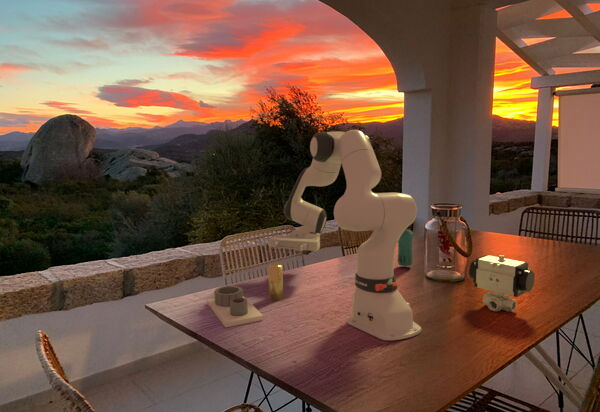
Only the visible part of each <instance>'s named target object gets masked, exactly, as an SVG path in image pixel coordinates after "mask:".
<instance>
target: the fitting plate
mask: <svg viewBox="0 0 600 412" xmlns="http://www.w3.org/2000/svg"><path fill="white" fill-rule="evenodd" d="M213 292H214V293H213V294H214V298H209V299H207V305H208V307H209V308H210V309H211V310H212V312H213V313H214V315H215V316H216V317H217V318H218V320H219V321H220V322H221V324H222V325H223V326H224V327H225V328H230V327H236V326H240V325H245V324H250V323H255V322H260V321H263V320H264V314H262V313H261V311H259V310H258V309H257V308H256V307H255V306H254V304H252V303H251V302H250V301H249V300H248V299H247V298H246V297H245V296H244V289H243V288H242V287H241V286H239V285H225V286H220V287H217V288H216V289H215V290H214V291H213Z"/></svg>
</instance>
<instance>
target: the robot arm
mask: <svg viewBox="0 0 600 412" xmlns="http://www.w3.org/2000/svg"><path fill="white" fill-rule="evenodd" d="M309 143H310V145H309V149H310V150H309V151H310V155H311V157H312V161H311V163H310V166H309V167H304V168H303V170H302V171H301V172H300V173H299V175H298V178H297V180H295V181H296V182H295V183H294V186H293V188H292V191H291V193H290V195H289V198H288V200H287V201H286V203H285V205H284V206H283V207H284V208H283V214H284V216H285V218H286V219H287V220H289V221H292V222H295V223H297V224H299V225H300V227H297V228H296V229H294V230H293V231H291V232H290V234H289V235H280V234H279V235H274V236H271V237H269V239H268V246H269V248H274V249H277V250H278V249H288V250H289V249H290V250H294V251H295V252H302V251H309V252H310V251H311V252H317V251H319V250H320V248H321V235H320V234H321V233H322V232H323V231H324V229H325V227H326V224H327V221H328V217H327V216H328V215H327V213H326V210H325V209H324V208H321V207H320V206H317V205H315V204H312V203H310V202H308V201H305V200H303V198H302V196H303V193H304V191H305V189H306V187H326V186H329V185H331V184H333V183H334V182H335V181H336V180H337V178H338V176H339V173H340V170H341V167H342V170H343V173H344V174H343V175H344V176H345V177H344V178H345V181H346V188H345V191H344V194H343V195H341V197H339V198H338V200H337V201H336V203H335V205H334V208H333V216H334V221H335V222H336V225H337V226H338V227H339V228H340V229H341V230H346V231H352V232H362V231H364V232H368V231H372V234H371V235H370V237H369V238H368V239H367V240H365V241H364V242H362V243H361V244H360V245H359V247H358V248H357V251H356V273H355V277H354V281H355V282H354V283H355V291H354V294H353V295H352V299H351V301H352V302H351V309H350V311H351V312H350V317H349V318H348V319H347V324H348V325H350V326H352V327H354V328H355V329H359V330H360V331H362V332H365V333H366V334H369V335H371V336H372V337H374V338H375V337H376V338H377V339H380V340H382V341H398V340H399V341H400V340H404V339H409V338H412V337H415V336H417V335H419V334H420V333H422V330H423V329H422V327H421V326H420V325H419V324H418V323H416V322H415V321H414V318H413V317H414V316H413V310H412V308H411V304H410V303H409V302H407V301H406V299H404V297H403V295H402V294H401V293H400V291H399V290H398V286H400V284H399V283H400V281H397V280H396V276H395V273H394V269H395V268H394V267H395V253H396V249H397V245H398V240H399V238H400V237H401V235H402V233H403V232H404V231H405V230H407V229H408V228H407V227H408V226H409V225H412V224H414V222H415V220H416V218H417V214H418V207H417V203H416V200H415V199H414V198H413V197H412V196H411V195H410V194H407V193H401V192H394V191H393V192H392V191H391V192H373V191H372V189H374V188H375V187H376V186H377V185H378V184H379V182H380V181H381V179H382V170H381V167H380V165H379V162H378V159H377V157H376V156H377V155H376V154H375V151H374V149H373V146H372V141H371V139H370V137H369V136H368V135H366V134H365V133H364V132H363V131H362V130H359V129H351V130H348V131H327V132H326V131H320V132H315V134H314V135H313V136H312V137H311V140H310V142H309Z"/></svg>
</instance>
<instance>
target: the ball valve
mask: <svg viewBox="0 0 600 412" xmlns="http://www.w3.org/2000/svg"><path fill="white" fill-rule="evenodd" d="M468 274H469V278H470V279H472V282H473V283H474V286H473V287H475V288H477V289H482V290H487V291H489V292H484V294H483V297H482V302H483V304H484V305H486V306H487V308H488V309H489V310H490V311H491V312H492V311H493V312H500V311H501V310H502V311H505V312H514V311H515V310H516V308H517V300H516V299H513V298H512V297H515V298H518V297H520V296H522V295H524V294H526V293H530V292H531V291H532V290H533V287H534V285H535V279H536V278H535V277H536V276H535V272H534V270H530V267H529V262H526V261H519V260H515V259H510V258H505V255H502V254H499V255H498V256H494V255H488V254H485V255H482V256H479V257H477V258H475V259H473V260H472V261H471V263H470V265H469V269H468Z"/></svg>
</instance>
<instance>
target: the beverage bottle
mask: <svg viewBox="0 0 600 412" xmlns="http://www.w3.org/2000/svg"><path fill="white" fill-rule="evenodd" d="M411 225H412V224H411ZM411 225H409V226H408V227H407V228H406V229H405V231H404V232H403V233H402V235H401V237H400V238H399V240H398V243H397V245H398V246H397V248H398V249H397V264H398V265H399V266H400V267H401V266H402V267H410V266H413V257H414V256H413V255H414V254H413V253H414V249H413V244H414V240H413V239H414V233H413V232H412V230H410V229H411V228H412V226H411Z"/></svg>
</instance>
